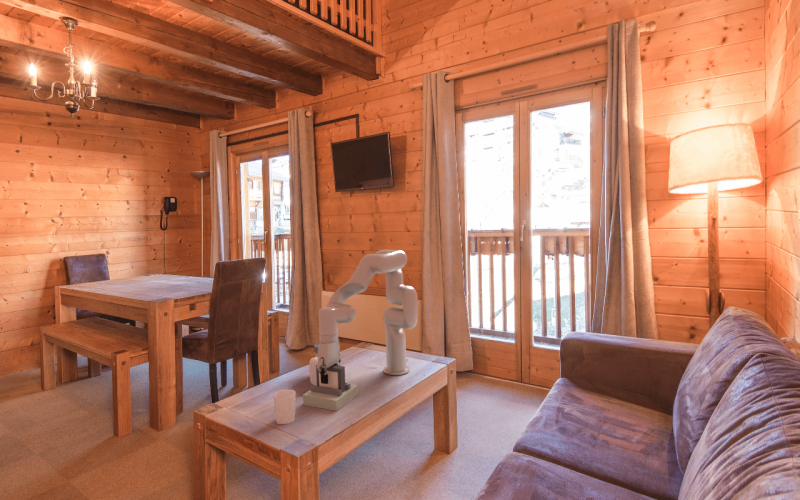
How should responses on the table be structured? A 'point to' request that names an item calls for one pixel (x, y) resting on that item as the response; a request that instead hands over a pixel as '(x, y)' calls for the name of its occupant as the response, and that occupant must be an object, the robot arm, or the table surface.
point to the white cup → (285, 406)
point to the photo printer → (313, 370)
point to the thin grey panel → (333, 377)
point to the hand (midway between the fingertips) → (330, 379)
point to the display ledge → (329, 397)
